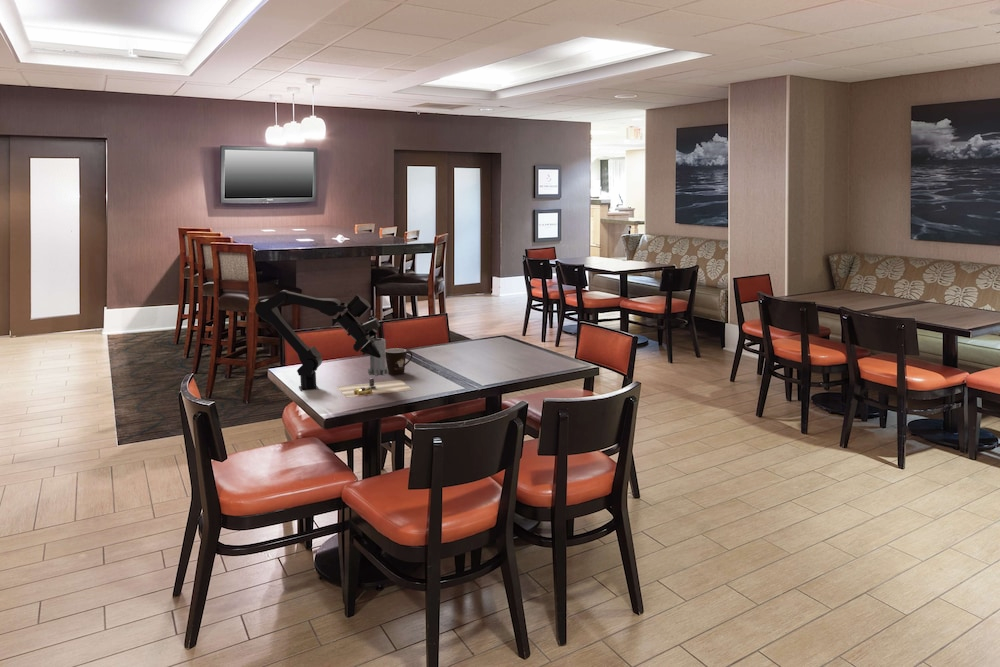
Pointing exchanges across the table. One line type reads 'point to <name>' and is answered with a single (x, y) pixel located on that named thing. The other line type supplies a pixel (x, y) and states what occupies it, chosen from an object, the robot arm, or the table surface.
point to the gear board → (380, 388)
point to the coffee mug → (396, 361)
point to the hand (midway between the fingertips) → (381, 355)
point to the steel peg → (371, 383)
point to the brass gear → (363, 391)
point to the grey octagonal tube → (378, 363)
